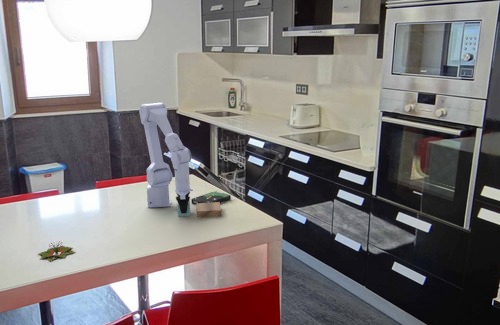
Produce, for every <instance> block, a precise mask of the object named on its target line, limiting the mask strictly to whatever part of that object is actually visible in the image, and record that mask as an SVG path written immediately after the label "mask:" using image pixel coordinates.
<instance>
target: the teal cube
mask: <svg viewBox="0 0 500 325" xmlns="http://www.w3.org/2000/svg"><path fill="white" fill-rule="evenodd" d="M190 200H191V199H190ZM190 200H189V202H188V206H187V213H181V211H180V207H179V204H178V202H176V203H177V204H176V206H177V208H176V209H177V217H190V216H191V201H190Z"/></svg>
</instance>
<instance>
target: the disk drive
mask: <svg viewBox="0 0 500 325" xmlns="http://www.w3.org/2000/svg"><path fill="white" fill-rule="evenodd" d="M190 200H191V201H190V203H191V205H195V206H196V203H213V202H220V205H221V204H223V203H226V202H229V201H231V200H232V195H231V194H227V193H224V192H219V191H211V192H208V193H205V194H202V195H199V196H195V197H192V198H190Z"/></svg>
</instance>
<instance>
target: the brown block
mask: <svg viewBox="0 0 500 325" xmlns="http://www.w3.org/2000/svg"><path fill="white" fill-rule="evenodd" d="M195 208H196V209H195V210H196V211H195V213H196V215H195V217H196V218H210V217H211V218H212V217H222V208H221V204H220V202H213V203H196V205H195Z"/></svg>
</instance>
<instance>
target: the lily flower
mask: <svg viewBox="0 0 500 325" xmlns="http://www.w3.org/2000/svg"><path fill="white" fill-rule="evenodd" d="M51 246H52V247H51ZM48 247H49V248H48V249H46V250H45V251H42V252H41V251H40V252H39V253H38V255H41V258H39V260H42V259H45V258H47V260H48V261H49V262H52V261H53V260H55V259H58V258H63V259H66V258H67V257H66V256H67V255H70V254H75V253H76V252H75V251H74V250H70V249H72V247H71V246H70V247H69V246H66V245H63V243H62V242H61V240H59V241H58V242H57V243H56V244H55V243H53V242H50V245H48ZM58 253H59V254H58ZM53 257H54V258H53Z"/></svg>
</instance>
